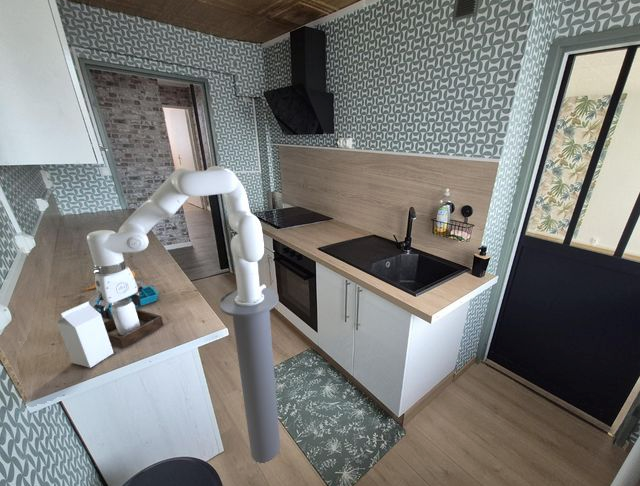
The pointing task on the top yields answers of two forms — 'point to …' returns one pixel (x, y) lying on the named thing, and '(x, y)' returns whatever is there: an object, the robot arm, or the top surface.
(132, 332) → the crate
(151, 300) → the ice cube tray
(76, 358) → the milk carton
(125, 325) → the can
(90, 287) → the carrot
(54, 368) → the top surface
